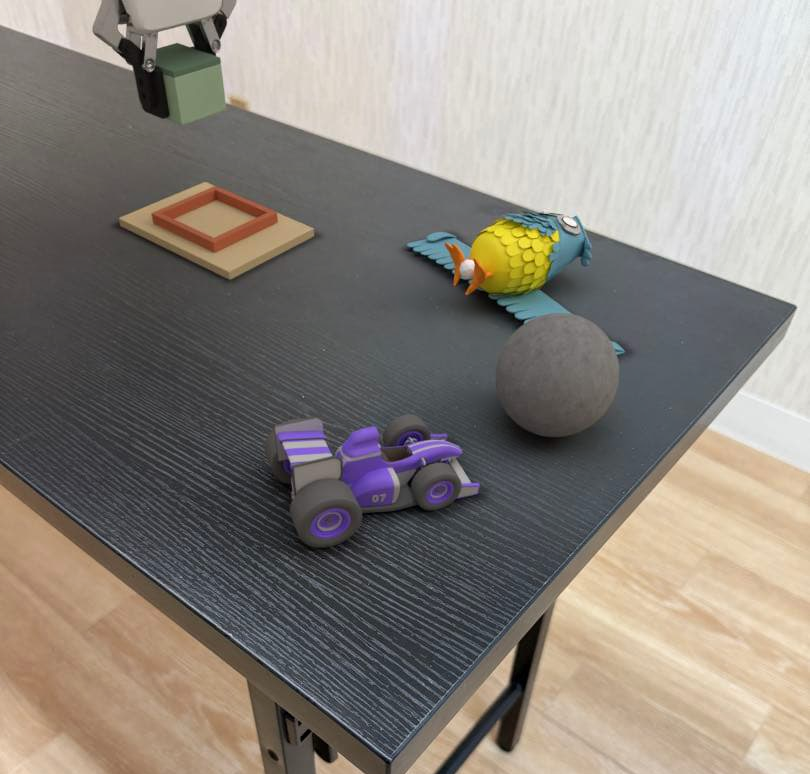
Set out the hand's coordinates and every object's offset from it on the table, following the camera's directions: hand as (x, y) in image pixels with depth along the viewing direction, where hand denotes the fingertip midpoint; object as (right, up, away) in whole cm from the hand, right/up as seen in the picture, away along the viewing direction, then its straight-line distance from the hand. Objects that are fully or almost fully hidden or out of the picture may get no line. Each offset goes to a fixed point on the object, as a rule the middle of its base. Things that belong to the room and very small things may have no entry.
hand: (182, 103), depth 76 cm
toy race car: (+19, -38, -13) cm, 44 cm away
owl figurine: (+32, -16, +8) cm, 37 cm away
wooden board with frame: (0, -6, +15) cm, 17 cm away
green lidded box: (0, 0, 0) cm, 1 cm away
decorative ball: (+33, -31, -6) cm, 46 cm away
